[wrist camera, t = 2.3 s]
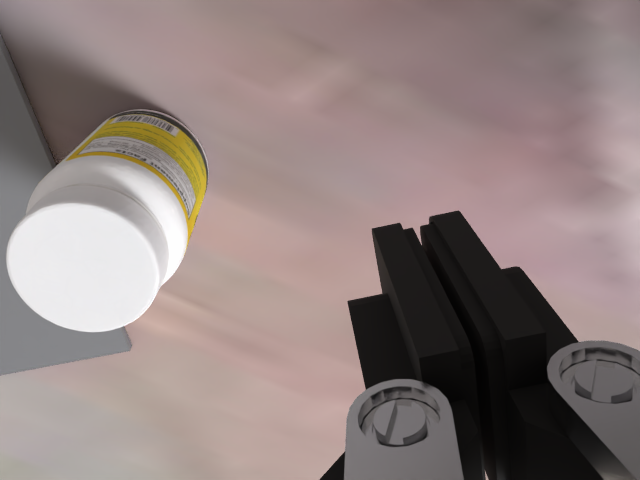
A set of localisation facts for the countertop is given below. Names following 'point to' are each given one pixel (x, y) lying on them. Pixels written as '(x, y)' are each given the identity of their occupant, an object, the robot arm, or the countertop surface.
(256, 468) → the countertop surface
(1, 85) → the mat
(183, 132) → the supplement bottle
